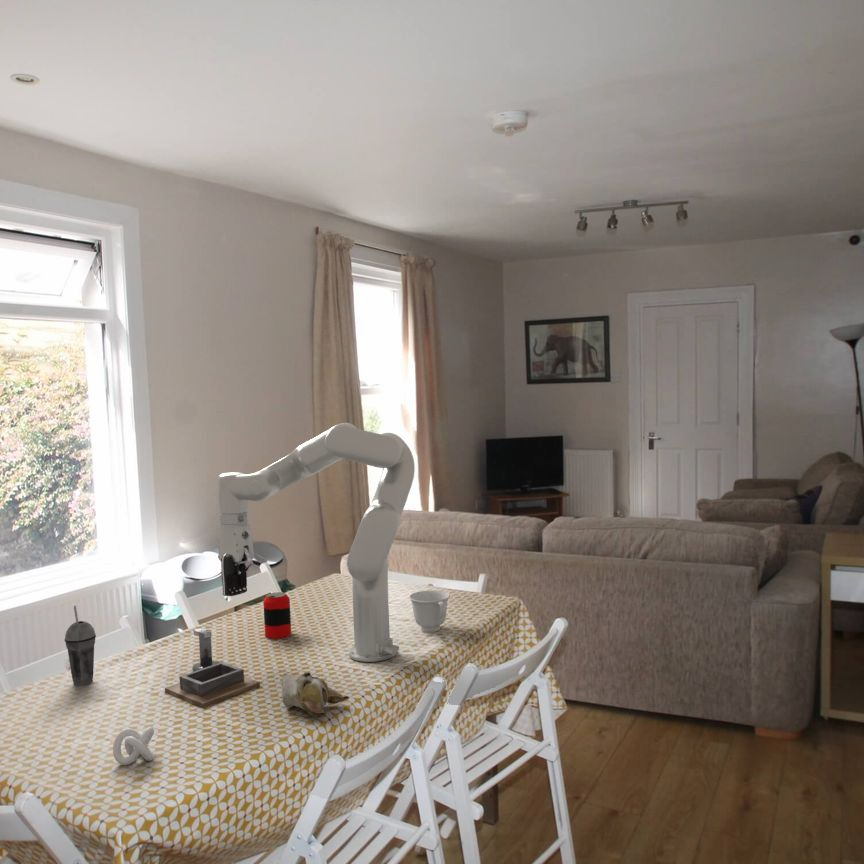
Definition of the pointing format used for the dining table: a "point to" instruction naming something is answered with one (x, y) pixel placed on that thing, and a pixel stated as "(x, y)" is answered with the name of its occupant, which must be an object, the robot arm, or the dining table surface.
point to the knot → (133, 745)
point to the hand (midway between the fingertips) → (236, 585)
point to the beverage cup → (81, 651)
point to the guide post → (204, 649)
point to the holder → (212, 684)
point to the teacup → (429, 609)
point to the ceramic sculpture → (308, 693)
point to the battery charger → (230, 576)
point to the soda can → (277, 615)
